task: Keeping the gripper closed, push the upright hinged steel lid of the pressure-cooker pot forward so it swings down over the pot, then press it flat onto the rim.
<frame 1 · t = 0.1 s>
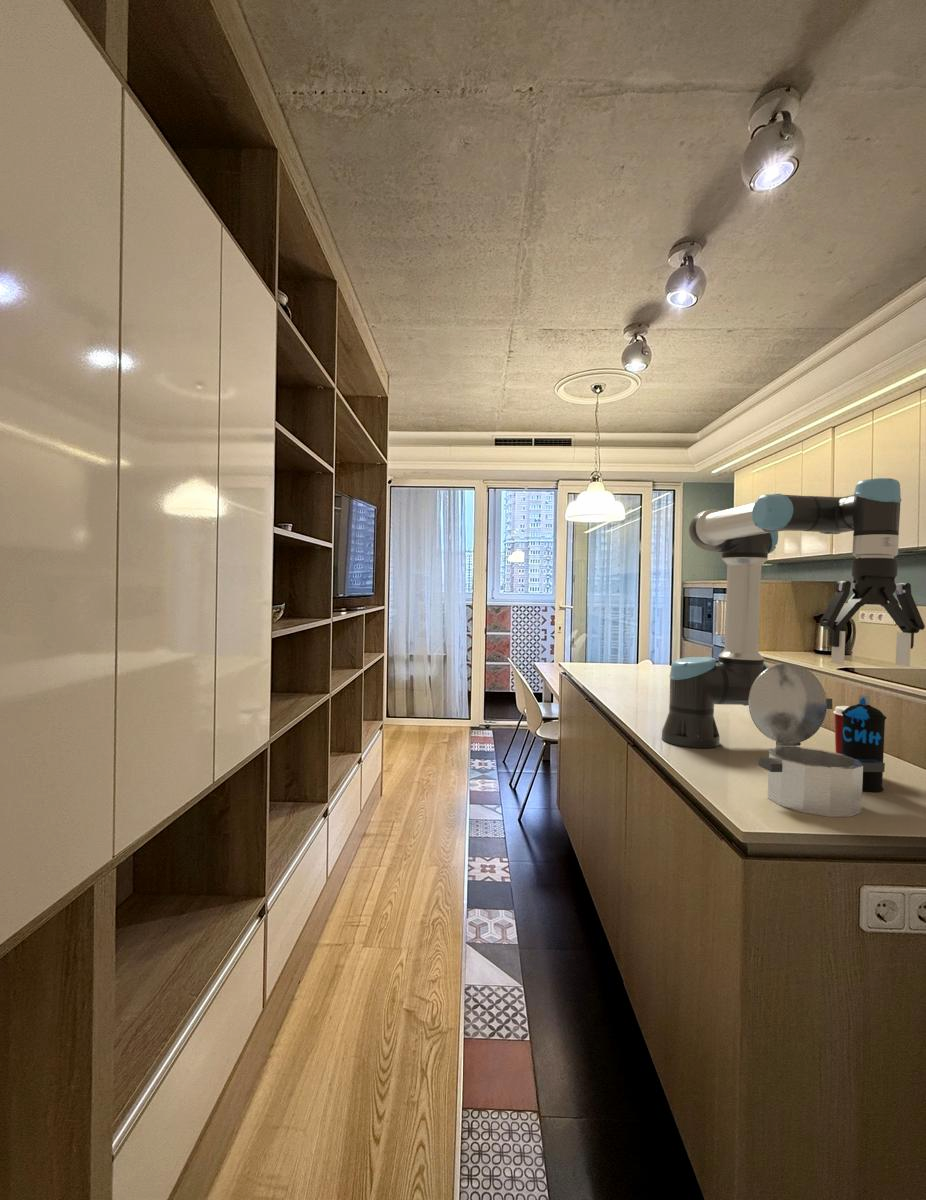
hand: (870, 664, 121), 28 cm above the countertop, fingers open, 13 cm apart
coffee cup: (850, 772, 144), on the countertop
pot: (812, 801, 122), on the countertop
lid: (789, 704, 131), point 18 cm above the countertop, hinge at 95.0°
aerosol can: (860, 787, 133), on the countertop
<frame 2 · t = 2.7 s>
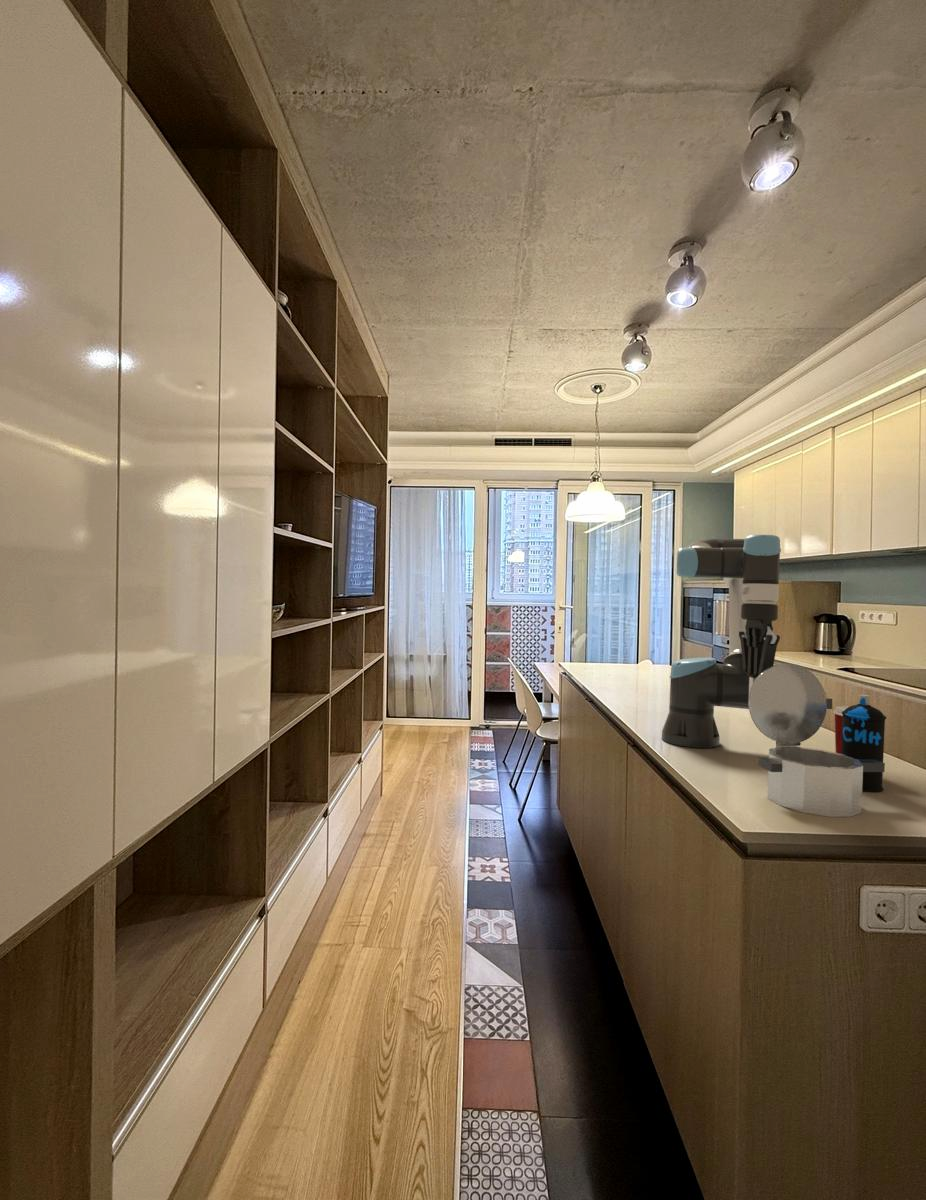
hand: (755, 705, 139), 16 cm above the countertop, fingers closed
nothing on the countertop moved.
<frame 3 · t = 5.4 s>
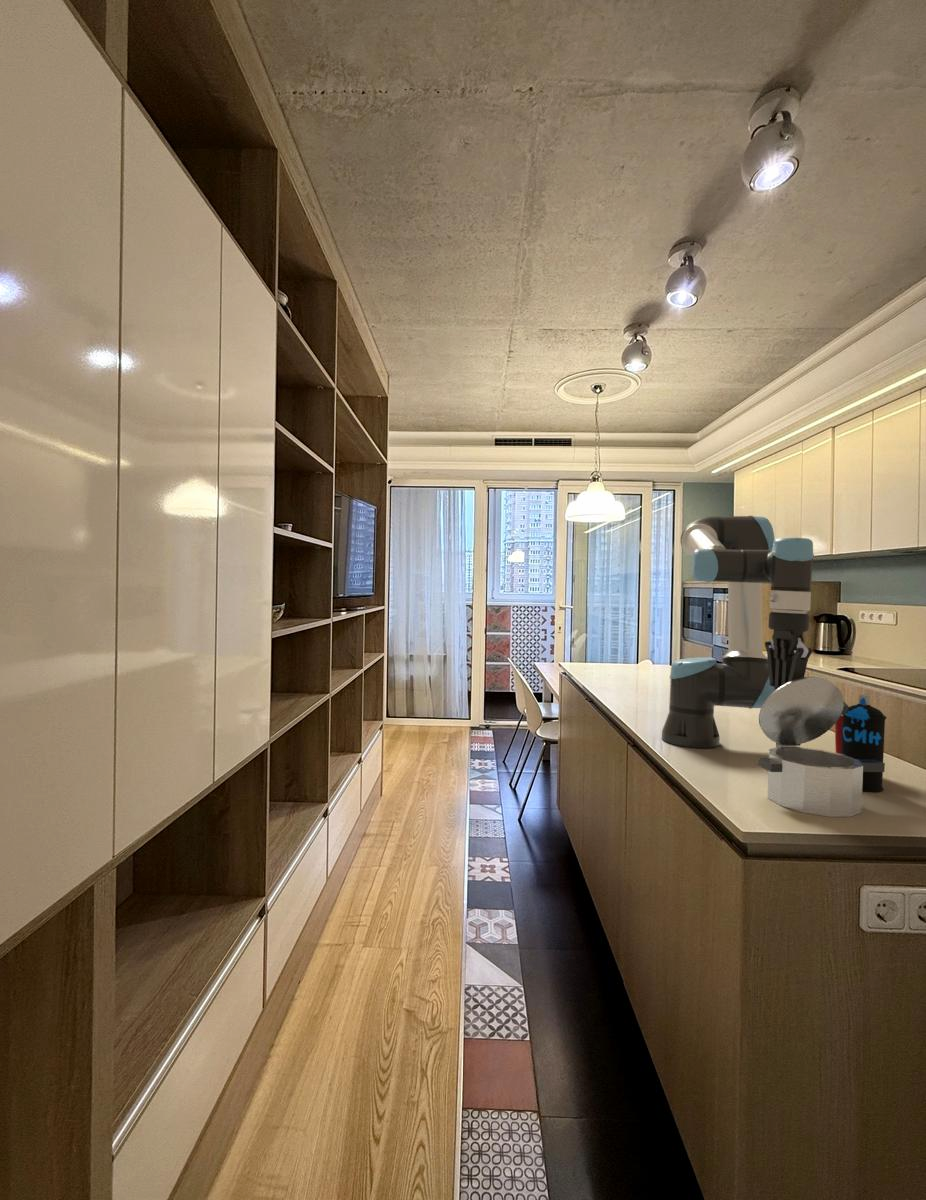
hand: (783, 722, 129), 14 cm above the countertop, fingers closed
lid: (803, 710, 127), point 17 cm above the countertop, hinge at 63.2°, touching gripper
everything else where it was.
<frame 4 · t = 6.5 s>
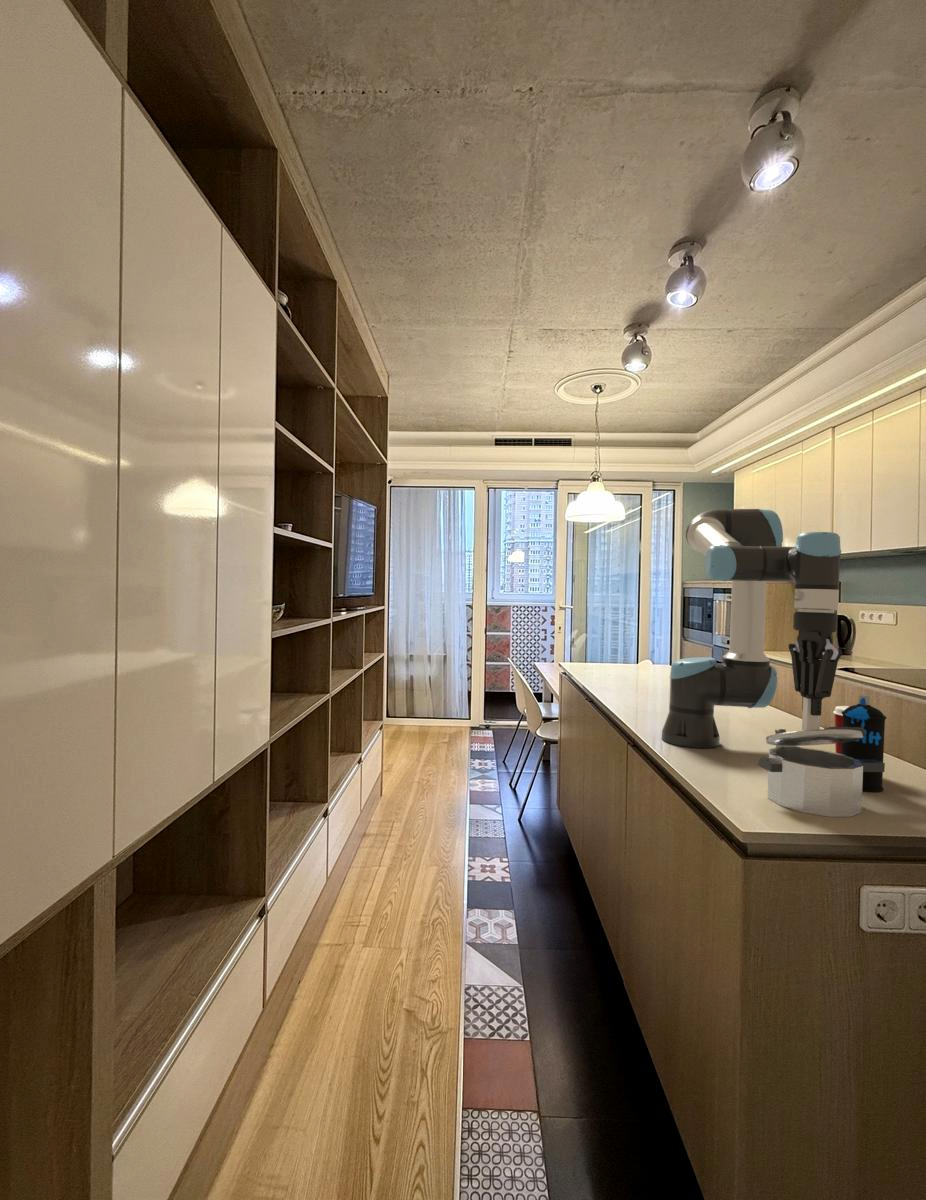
hand: (810, 730, 120), 15 cm above the countertop, fingers closed
lid: (816, 734, 123), point 13 cm above the countertop, hinge at 21.5°, touching gripper
everything else where it was.
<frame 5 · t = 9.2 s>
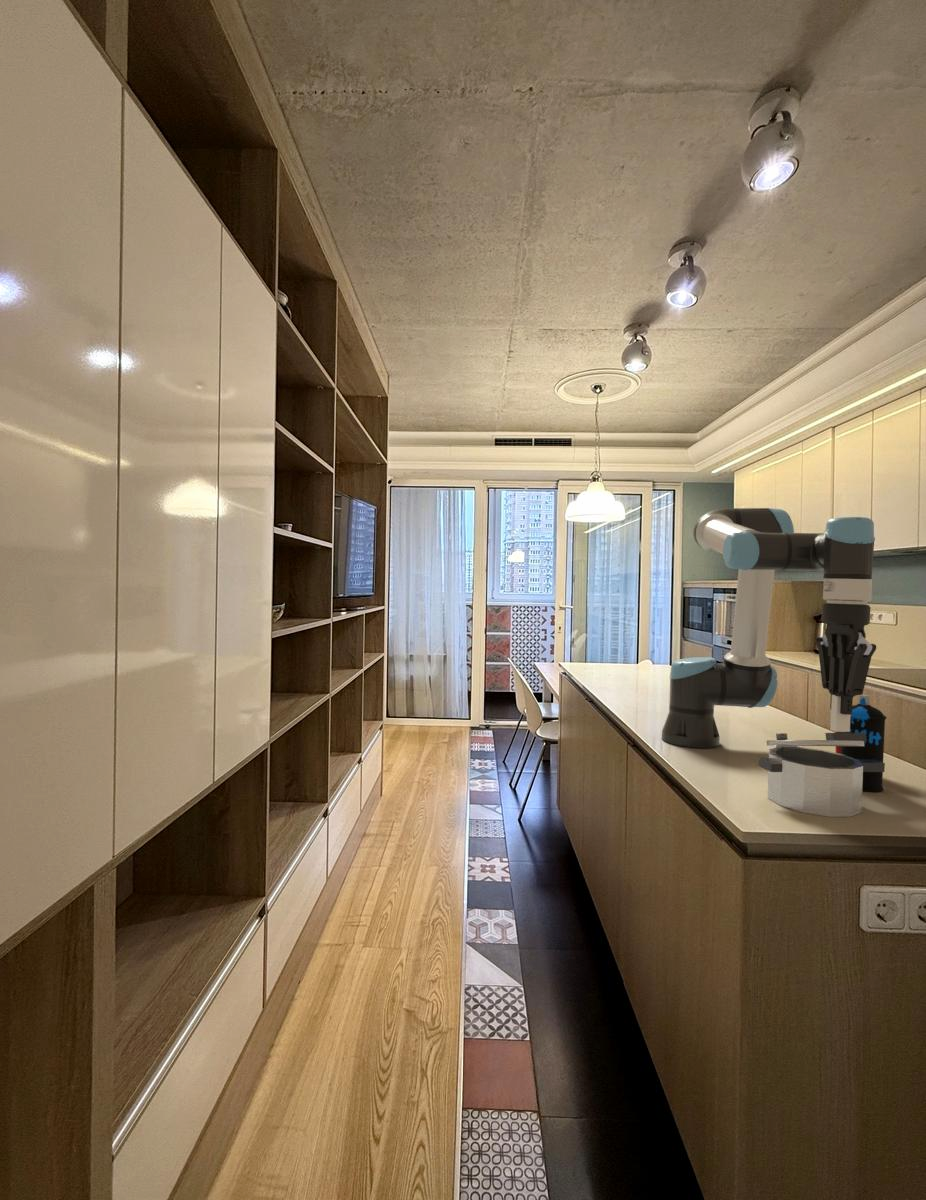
hand: (839, 730, 112), 17 cm above the countertop, fingers closed
lid: (817, 739, 122), point 12 cm above the countertop, hinge at 14.4°
everything else where it was.
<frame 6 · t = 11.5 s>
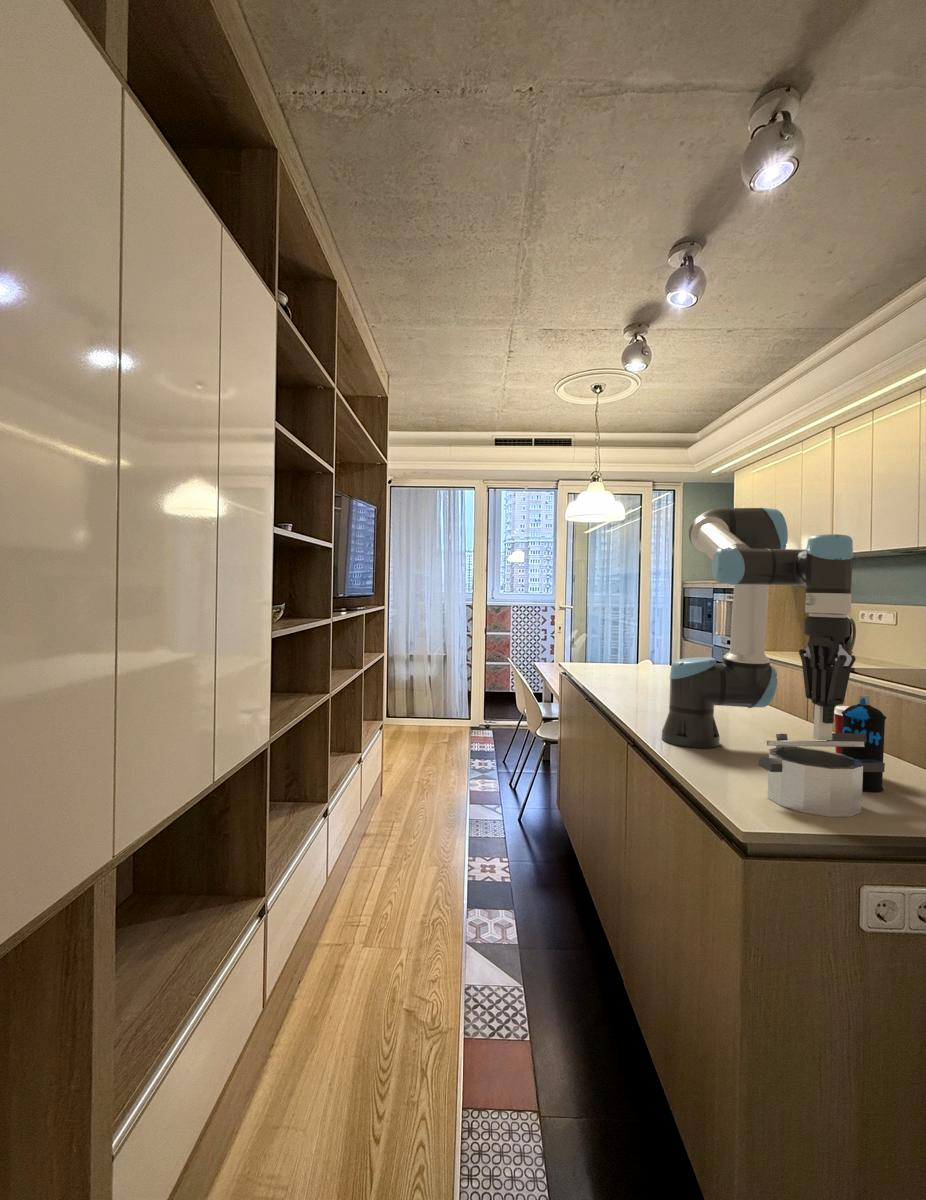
hand: (822, 739, 116), 14 cm above the countertop, fingers closed
lid: (817, 739, 122), point 12 cm above the countertop, hinge at 13.9°, touching gripper
everything else where it was.
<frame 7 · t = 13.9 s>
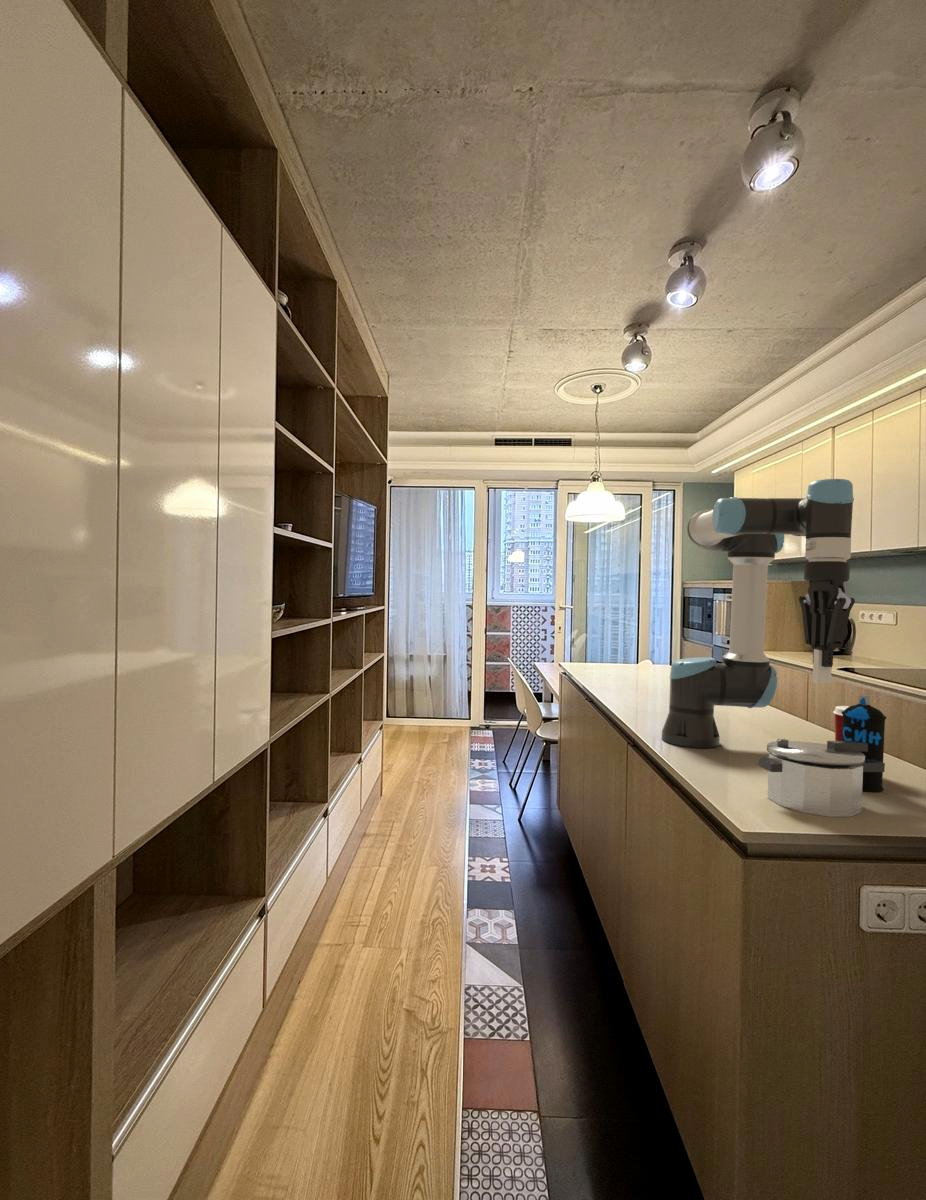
hand: (821, 683, 117), 24 cm above the countertop, fingers closed
lid: (818, 748, 122), point 11 cm above the countertop, hinge at 2.5°
everything else where it was.
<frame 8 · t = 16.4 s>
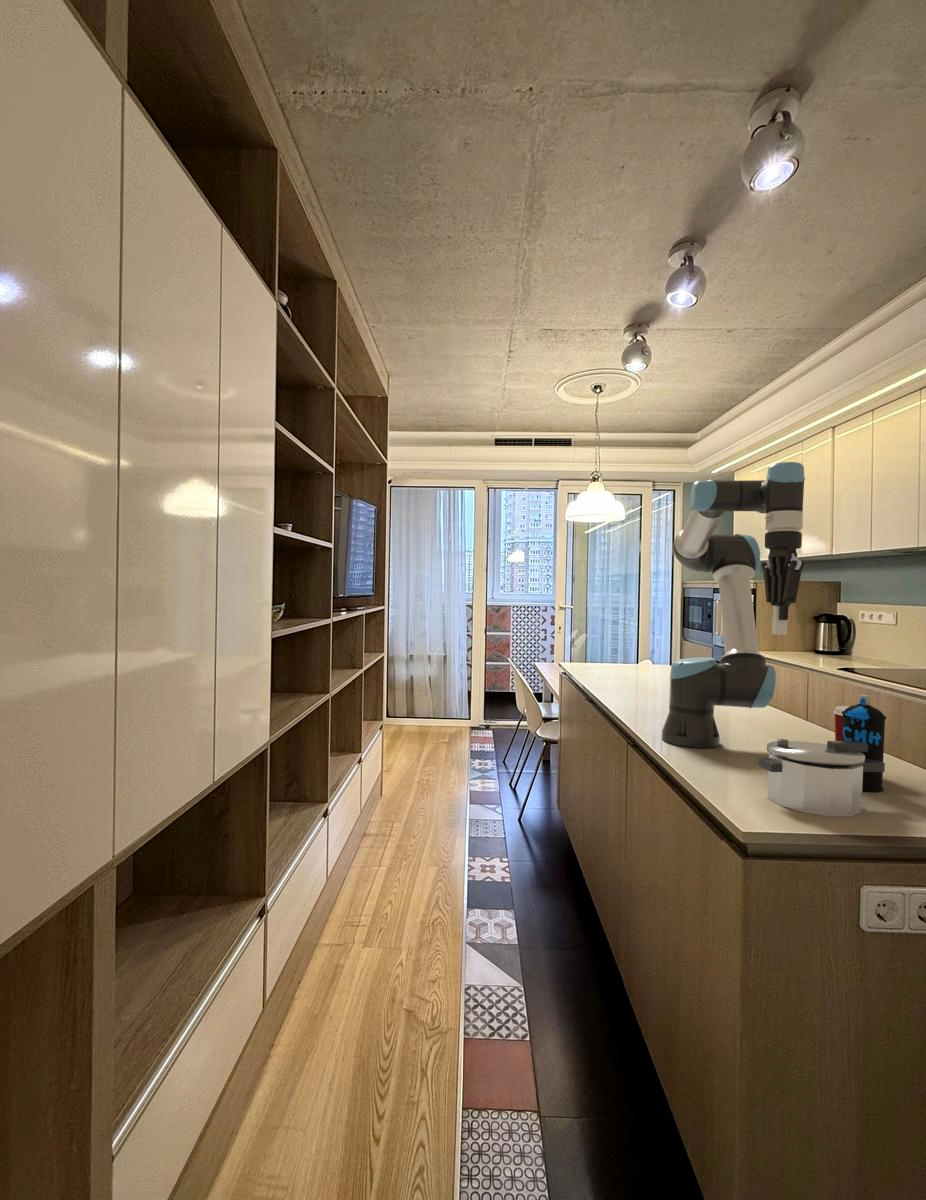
hand: (779, 634, 139), 32 cm above the countertop, fingers closed
nothing on the countertop moved.
at the end: lid at +2° (first picture: +95°) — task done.
